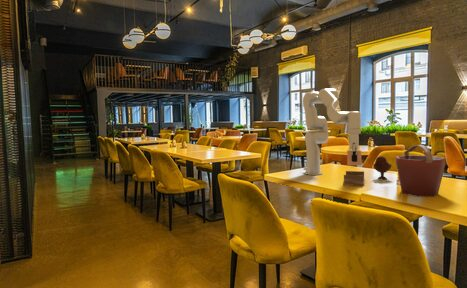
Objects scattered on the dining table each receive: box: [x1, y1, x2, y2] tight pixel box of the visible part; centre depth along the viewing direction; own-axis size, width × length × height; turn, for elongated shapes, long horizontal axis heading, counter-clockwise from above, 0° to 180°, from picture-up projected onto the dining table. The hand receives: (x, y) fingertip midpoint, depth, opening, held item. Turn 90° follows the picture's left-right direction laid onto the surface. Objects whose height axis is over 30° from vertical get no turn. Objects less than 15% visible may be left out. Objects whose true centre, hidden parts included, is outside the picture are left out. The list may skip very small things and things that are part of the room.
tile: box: [346, 149, 362, 166], centre depth 199 cm, size 3×8×9 cm, turn 67°
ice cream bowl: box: [373, 155, 392, 180], centre depth 210 cm, size 11×11×15 cm
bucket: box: [395, 144, 446, 197], centre depth 168 cm, size 24×22×25 cm
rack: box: [342, 170, 366, 187], centre depth 200 cm, size 17×12×6 cm
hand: (354, 161), depth 199 cm, fingers closed on tile, 3 cm apart
